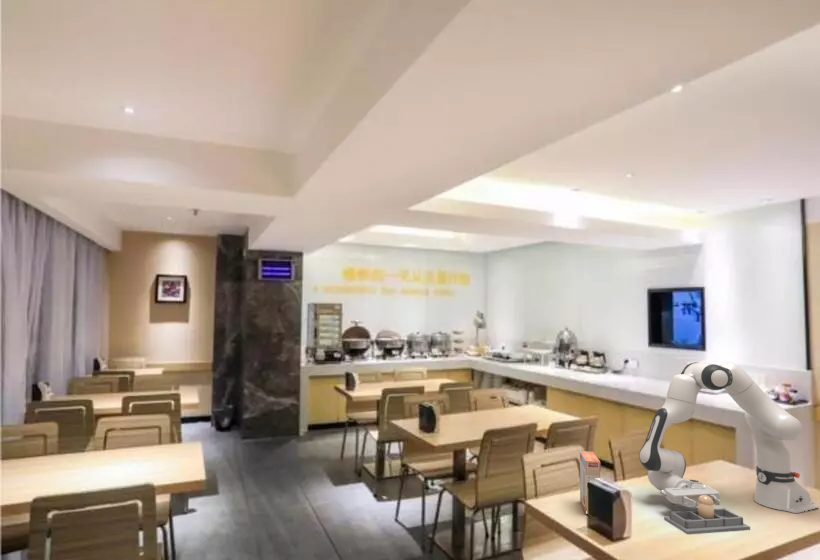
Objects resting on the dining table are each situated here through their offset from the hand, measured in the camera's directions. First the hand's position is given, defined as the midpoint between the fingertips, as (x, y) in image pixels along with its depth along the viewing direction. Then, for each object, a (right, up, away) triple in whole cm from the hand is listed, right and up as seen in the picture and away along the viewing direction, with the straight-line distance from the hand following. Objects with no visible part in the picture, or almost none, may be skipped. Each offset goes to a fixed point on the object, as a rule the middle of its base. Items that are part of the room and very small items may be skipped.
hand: (707, 503), depth 177 cm
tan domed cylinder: (0, -7, 0) cm, 7 cm away
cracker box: (-39, -9, +13) cm, 42 cm away
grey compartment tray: (0, -8, 0) cm, 8 cm away
